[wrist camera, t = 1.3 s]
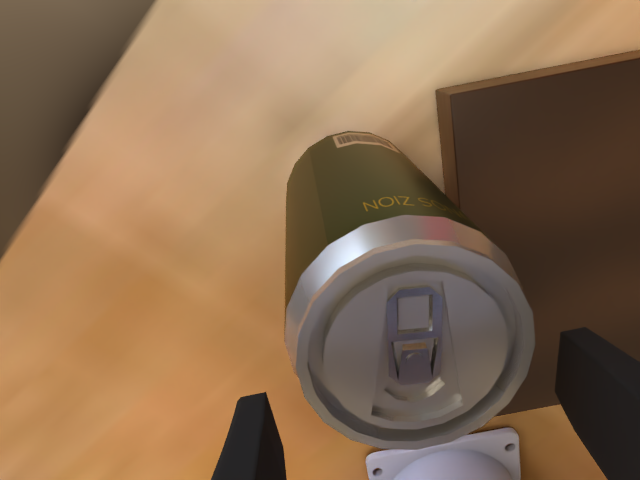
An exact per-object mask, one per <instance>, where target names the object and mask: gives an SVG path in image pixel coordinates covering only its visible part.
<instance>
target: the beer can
mask: <svg viewBox="0 0 640 480" xmlns="http://www.w3.org/2000/svg"><path fill="white" fill-rule="evenodd" d="M285 344H286V348H287V351H288V354H289V357H290V361H291V364H292V367H293V370H294V373H295V374H296V375H297V377H298V378H299V380H300V383H301V387H302V390H303V393H304V397H305V399H306V400H307V401H308V402H309V404H310V405H311V406H312V408H313V409H314V410H315V411H316V413H317V414H318V415H319V417H320V418H321V419H322V420H323V422H324V423H326V424H327V425H329V426H330V427H332V428H333V429H335V430H337V431H338V432H340V433H341V434H343V435H344V436H346V437H347V438H349V439H350V440H353V441H357V442H360V443H364V444H367V445H370V446H374V447H377V448H381V449H403V450H418V449H423V448H427V447H431V446H436V445H440V444H445V443H449V442H452V441H454V440H456V439H458V438H460V437H462V436H464V435H466V434H468V433H470V432H472V431H474V430H476V429H478V428H480V427H482V426H483V425H485V424H486V423H487V422H488V421H489V420H490V419H491V418H493V417H494V416H495V415H496V414H497V413H498V412H500V411H501V410H502V409H503V408H504V407H505V406H506V405H508V404H509V402H510V401H511V399H512V398H513V396H514V395H515V393H516V392H517V390H518V389H519V387H520V385H521V384H522V382H523V381H524V379H525V378H526V376H527V374H528V370H529V366H530V363H531V359H532V355H533V352H534V348H535V332H534V321H533V312H532V310H531V308H530V306H529V304H528V302H527V300H526V298H525V296H524V294H523V289H522V284H521V282H520V280H519V278H518V276H517V274H516V272H515V270H514V268H513V266H512V264H511V262H510V260H509V258H508V256H507V255H506V254H505V253H504V252H503V251H502V250H501V249H500V248H499V247H498V246H497V245H496V244H495V243H494V242H493V241H492V240H491V239H490V238H489V237H488V236H487V235H486V234H485V233H484V232H483V231H482V230H481V229H480V228H479V227H478V226H477V225H475V224H474V223H473V222H472V221H471V220H470V219H469V218H468V217H467V216H466V215H465V214H464V213H463V212H462V211H461V210H460V209H459V208H458V207H457V206H456V205H455V204H454V203H453V202H452V201H451V200H450V199H449V198H448V197H447V196H446V195H445V194H444V193H443V192H442V191H441V190H440V189H439V188H438V187H437V186H436V185H435V184H434V183H433V182H432V181H431V180H430V179H429V178H428V177H427V176H425V175H424V174H423V173H422V172H421V171H420V170H419V169H418V168H417V167H416V166H415V165H414V164H413V163H412V162H411V161H410V160H409V159H408V158H407V157H406V156H405V155H404V154H403V153H402V152H401V151H400V150H399V149H397V148H396V147H395V146H394V145H393V144H392V143H391V142H390V141H388V140H386V139H383V138H381V137H379V136H376V135H374V134H371V133H367V132H353V131H347V132H343V133H339V134H335V135H331V136H327V137H325V138H324V139H322V140H320V141H319V142H317V143H316V144H314V145H312V146H311V147H309V148H308V149H307V150H306V152H305V153H304V154H303V155H302V156H301V158H300V159H299V160H298V161H297V162H296V163H295V165H294V168H293V170H292V173H291V175H290V178H289V180H288V183H287V196H286V255H285Z"/></svg>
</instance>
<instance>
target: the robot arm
mask: <svg viewBox="0 0 640 480" xmlns="http://www.w3.org/2000/svg"><path fill="white" fill-rule="evenodd" d="M555 393H556V395H557V397H558V399H559V401H560V403H561V405H562V407H563V409H564V411H565V413H566V415H567V417H568V419H569V421H570V423H571V425H572V426H573V428H574V430H575V432H576V433H577V435H578V436H579V438H580V439H581V441H582V442H583V444H584V445H585V447H586V448H587V450H588V451H589V453H590V454H591V456H592V457H593V459H594V460H595V462H596V463H597V465H598V466H599V467H600V469H601V470H602V472H603V473H604V475H605V476H606V478H607V479H608V480H640V362H639V361H637V360H636V359H634V358H633V357H631V356H630V355H628V354H627V353H625V352H624V351H622V350H620V349H619V348H617V347H616V346H614V345H613V344H611V343H610V342H608V341H607V340H605V339H604V338H602V337H601V336H599V335H597V334H596V333H594V332H593V331H591V330H590V329H588V328H586V327H582V328H577V329H572V330H567V331H563V332H560V342H559V352H558V362H557V371H556V381H555ZM510 443H511V444H510ZM507 444H510V445H508V446H506V445H507ZM366 466H367V471H368V477H369V480H521V473H520V450H519V436H518V434H517V432H516V430H514V429H513V428H502V429H497V430H491V431H486V432H481V433H475V434H470V435H464V436H462V437H460V438H458V439H456V440H454V441H452V442H449V443H445V444H440V445H436V446H431V447H427V448H423V449H418V450H403V449H390V450H384V451H379V452H374V453H371V454H369V455H368V456H367V457H366ZM376 468H380V469H378V470H374V469H376ZM211 480H286V470H285V460H284V451H283V445H282V442H281V439H280V436H279V432H278V429H277V426H276V423H275V420H274V417H273V413H272V410H271V407H270V404H269V401H268V398H267V394H266V392H264V393H259V394H255V395H250V396H245V397H241V398H240V399H239V400H238V401H237V405H236V409H235V412H234V416H233V419H232V423H231V426H230V429H229V432H228V435H227V438H226V441H225V444H224V447H223V450H222V452H221V455H220V458H219V460H218V463H217V465H216V468H215V471H214V473H213V476H212V478H211Z"/></svg>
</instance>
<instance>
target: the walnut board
mask: <svg viewBox="0 0 640 480" xmlns="http://www.w3.org/2000/svg"><path fill="white" fill-rule="evenodd" d="M436 100H437V111H438V122H439V132H440V143H441V154H442V165H443V175H444V186H445V195H446V196H447V197H448V198H449V199H450V200H451V201H452V202H453V203H454V204H455V205H456V206H457V207H458V208H459V209H460V210H461V211H462V212H463V213H464V214H465V215H466V216H467V217H468V218H469V219H470V220H471V221H472V222H473V223H474V224H475V225H477V226H478V227H479V228H480V229H481V230H482V231H483V232H484V233H485V234H486V235H487V236H488V237H489V238H490V239H491V240H492V241H493V242H494V243H495V244H496V245H497V246H498V247H499V248H500V249H501V250H502V251H503V252H504V253H505V254H506V255H507V256H508V258H509V260H510V262H511V264H512V266H513V268H514V270H515V272H516V274H517V276H518V278H519V280H520V282H521V284H522V289H523V294H524V296H525V298H526V300H527V302H528V304H529V306H530V308H531V310H532V312H533V321H534V332H535V348H534V352H533V355H532V359H531V363H530V366H529V370H528V374H527V376H526V378H525V379H524V381H523V382H522V384H521V385H520V387H519V389H518V390H517V392H516V393H515V395H514V396H513V398H512V399H511V401H510V402H509V404H508V405H506V406H505V407H504V408H503V409H502V410H501V411H500V412H498V413H497V414H496V415H495V416H500V415H505V414H511V413H516V412H521V411H527V410H532V409H537V408H543V407H548V406H553V405H559V404H561V403H560V401H559V399H558V397H557V395H556V393H555V381H556V371H557V362H558V352H559V342H560V332H563V331H567V330H572V329H577V328H582V327H586V328H588V329H590V330H591V331H593V332H594V333H596V334H597V335H599V336H601V337H602V338H604V339H605V340H607V341H608V342H610V343H611V344H613V345H614V346H616V347H617V348H619V349H620V350H622V351H624V352H625V353H627V354H628V355H630V356H631V357H633V358H634V359H636V360H637V361H639V362H640V50H637V51H632V52H627V53H621V54H616V55H611V56H606V57H601V58H596V59H591V60H585V61H580V62H575V63H570V64H565V65H560V66H554V67H549V68H544V69H539V70H534V71H529V72H524V73H518V74H513V75H508V76H503V77H498V78H493V79H488V80H482V81H477V82H472V83H467V84H462V85H457V86H452V87H446V88H441V89H437V90H436ZM495 416H494V417H495Z"/></svg>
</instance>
